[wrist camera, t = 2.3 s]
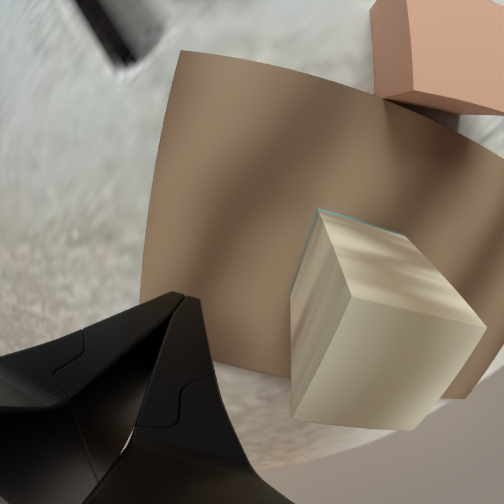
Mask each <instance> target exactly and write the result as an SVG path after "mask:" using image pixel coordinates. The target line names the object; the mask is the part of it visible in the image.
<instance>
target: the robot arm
mask: <svg viewBox="0 0 504 504" xmlns="http://www.w3.org/2000/svg"><path fill="white" fill-rule="evenodd" d="M134 426H135V427H134ZM133 428H134V430H133ZM132 430H133V433H132V435H131V438H130V440H129V443H128V445H127V446H126V448H125V449H124V450H123V448H124V446H125V444H126V442H127V440H128V438H129V436H130V434H131V432H132ZM122 450H123V452H122ZM121 452H122V453H121ZM0 504H295V503H293V502H292V501H290V500H289V499H288V498H286V497H285V496H283V495H282V494H281V493H279V492H278V491H277V490H275V489H274V488H273V487H271V486H270V485H269V484H267V483H266V482H265V481H264V480H262V479H261V477H260V476H259V475H258V474H257V473H256V472H255V470H254V469H253V467H252V466H251V464H250V462H249V460H248V458H247V456H246V454H245V452H244V450H243V448H242V446H241V443H240V441H239V439H238V437H237V435H236V433H235V430H234V428H233V426H232V424H231V421H230V419H229V417H228V414H227V412H226V409H225V406H224V404H223V401H222V398H221V394H220V391H219V387H218V383H217V378H216V375H215V370H214V365H213V360H212V356H211V351H210V346H209V341H208V336H207V331H206V326H205V321H204V315H203V310H202V305H201V300H200V299H199V298H196V297H192V296H189V295H187V296H186V297H185V295H184V294H182V293H178V292H175V291H170V292H168V293H165V294H163V295H161V296H158V297H156V298H154V299H151V300H149V301H147V302H144V303H142V304H140V305H137V306H135V307H133V308H130V309H128V310H125V311H123V312H121V313H118V314H116V315H114V316H111V317H109V318H107V319H104V320H102V321H100V322H97V323H95V324H92V325H90V326H88V327H85V328H83V330H82V329H80V330H78V331H76V332H73V333H71V334H68V335H66V336H63V337H61V338H58V339H56V340H53V341H50V342H47V343H44V344H41V345H38V346H34V347H31V348H28V349H24V350H21V351H17V352H14V353H11V354H7V355H4V356H0Z"/></svg>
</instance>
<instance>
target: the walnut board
mask: <svg viewBox="0 0 504 504" xmlns="http://www.w3.org/2000/svg"><path fill="white" fill-rule="evenodd" d="M317 208H320V209H323V210H326V211H330V212H333V213H337V214H340V215H344V216H347V217H350V218H354V219H357V220H360V221H363V222H367V223H370V224H373V225H376V226H379V227H383V228H386V229H389V230H392V231H395V232H398V233H401V234H403V235H404V236H405V237H406V238H407V239H408V240H409V241H410V242H411V243H412V244H413V245H414V246H415V247H416V248H417V249H418V250H419V251H420V252H421V253H422V254H423V255H424V256H425V257H426V258H427V259H428V260H429V261H430V262H431V263H432V264H433V265H434V267H435V268H436V269H437V270H438V271H439V272H440V273H441V274H442V275H443V276H444V277H445V278H446V280H447V281H448V282H449V283H450V284H451V285H452V286H453V287H454V289H455V290H456V291H457V292H458V293H459V294H460V295H461V297H462V298H463V299H464V300H465V301H466V302H467V304H468V305H469V306H470V307H471V308H472V310H473V311H474V312H475V313H476V314H477V316H478V317H479V318H480V319H481V320H482V322H483V323H484V324H485V325H486V327H487V329H486V331H485V332H484V334H483V336H482V337H481V339H480V341H479V342H478V344H477V346H476V347H475V349H474V350H473V352H472V353H471V355H470V357H469V358H468V360H467V361H466V363H465V364H464V366H463V367H462V368H461V370H460V371H459V373H458V374H457V376H456V377H455V378H454V380H453V381H452V383H451V384H450V385H449V387H448V388H447V389H446V391H445V392H444V393H443V395H442V396H441V397H440V398H452V399H465V398H466V397H467V396H468V394H469V393H470V392H471V391H472V389H473V388H474V387H475V385H476V384H477V383H478V381H479V380H480V378H481V377H482V376H483V374H484V373H485V371H486V370H487V369H488V367H489V366H490V364H491V363H492V361H493V360H494V358H495V357H496V355H497V354H498V352H499V351H500V349H501V347H502V346H503V344H504V159H503V158H501V157H500V156H498V155H496V154H495V153H493V152H491V151H490V150H488V149H486V148H484V147H483V146H481V145H479V144H477V143H476V142H474V141H472V140H470V139H468V138H467V137H465V136H463V135H461V134H459V133H457V132H455V131H453V130H451V129H449V128H447V127H445V126H443V125H441V124H439V123H437V122H435V121H433V120H431V119H429V118H427V117H424V116H422V115H420V114H418V113H416V112H413V111H411V110H409V109H406V108H404V107H402V106H399V105H397V104H394V103H392V102H389V101H387V100H384V99H382V98H379V97H376V96H374V95H371V94H368V93H366V92H363V91H360V90H357V89H354V88H351V87H348V86H345V85H342V84H339V83H336V82H333V81H330V80H326V79H323V78H320V77H316V76H313V75H309V74H305V73H302V72H298V71H294V70H290V69H286V68H282V67H278V66H273V65H269V64H264V63H259V62H255V61H249V60H244V59H239V58H233V57H227V56H221V55H214V54H207V53H200V52H192V51H183V50H181V51H180V55H179V59H178V63H177V66H176V70H175V74H174V78H173V82H172V87H171V91H170V95H169V99H168V104H167V108H166V113H165V118H164V122H163V127H162V132H161V137H160V143H159V148H158V154H157V159H156V165H155V171H154V177H153V183H152V190H151V197H150V204H149V211H148V219H147V227H146V235H145V244H144V254H143V264H142V275H141V288H140V302H139V305H140V304H142V303H144V302H147V301H149V300H151V299H154V298H156V297H158V296H161V295H163V294H165V293H168V292H170V291H175V292H178V293H182V294H184V295H185V297H186V296H187V295H189V296H192V297H196V298H199V299H200V300H201V305H202V310H203V315H204V321H205V326H206V331H207V336H208V341H209V346H210V351H211V356H212V360H213V361H217V362H221V363H225V364H229V365H233V366H237V367H241V368H245V369H249V370H254V371H258V372H262V373H267V374H271V375H276V376H281V377H286V378H291V316H290V291H291V288H292V285H293V282H294V279H295V276H296V273H297V270H298V267H299V264H300V261H301V258H302V255H303V252H304V249H305V245H306V242H307V239H308V236H309V233H310V230H311V227H312V223H313V220H314V217H315V214H316V211H317Z"/></svg>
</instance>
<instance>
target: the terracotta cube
mask: <svg viewBox="0 0 504 504" xmlns="http://www.w3.org/2000/svg"><path fill="white" fill-rule="evenodd" d="M370 17H371V29H372V44H373V62H374V96H376V97H379V98H382V99H384V100H387V101H389V102H393V103H400V104H407V105H413V106H419V107H425V108H431V109H436V110H441V111H446V112H451V113H456V114H460V115H500V116H504V7H503V6H501V5H499V4H497V3H495V2H493V1H490V0H377V1H376V2H375V4H374V5H373V6H372V7H371V9H370Z"/></svg>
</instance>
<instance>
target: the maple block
mask: <svg viewBox="0 0 504 504" xmlns="http://www.w3.org/2000/svg"><path fill="white" fill-rule="evenodd" d="M290 316H291V419H293V420H299V421H306V422H313V423H320V424H328V425H336V426H345V427H356V428H368V429H383V430H409V431H413V430H414V429H415V428H416V427H417V425H418V424H419V423H420V422H421V421H422V420H423V418H424V417H425V416H426V415H427V414H428V412H429V411H430V410H431V409H432V407H433V406H434V405H435V404H436V402H437V401H438V400H439V399H440V397H441V396H442V395H443V393H444V392H445V391H446V389H447V388H448V387H449V385H450V384H451V383H452V381H453V380H454V378H455V377H456V376H457V374H458V373H459V371H460V370H461V368H462V367H463V366H464V364H465V363H466V361H467V360H468V358H469V357H470V355H471V353H472V352H473V350H474V349H475V347H476V346H477V344H478V342H479V341H480V339H481V337H482V336H483V334H484V332H485V331H486V329H487V327H486V325H485V324H484V323H483V322H482V320H481V319H480V318H479V317H478V316H477V314H476V313H475V312H474V311H473V310H472V308H471V307H470V306H469V305H468V304H467V302H466V301H465V300H464V299H463V298H462V297H461V295H460V294H459V293H458V292H457V291H456V290H455V289H454V287H453V286H452V285H451V284H450V283H449V282H448V281H447V280H446V278H445V277H444V276H443V275H442V274H441V273H440V272H439V271H438V270H437V269H436V268H435V267H434V265H433V264H432V263H431V262H430V261H429V260H428V259H427V258H426V257H425V256H424V255H423V254H422V253H421V252H420V251H419V250H418V249H417V248H416V247H415V246H414V245H413V244H412V243H411V242H410V241H409V240H408V239H407V238H406V237H405V236H404V235H403V234H401V233H398V232H395V231H392V230H389V229H386V228H383V227H379V226H376V225H373V224H370V223H367V222H363V221H360V220H357V219H354V218H350V217H347V216H344V215H340V214H337V213H333V212H330V211H326V210H323V209H320V208H317V211H316V214H315V217H314V220H313V223H312V227H311V230H310V233H309V236H308V239H307V242H306V245H305V249H304V252H303V255H302V258H301V261H300V264H299V267H298V270H297V273H296V276H295V279H294V282H293V285H292V288H291V291H290Z"/></svg>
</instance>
